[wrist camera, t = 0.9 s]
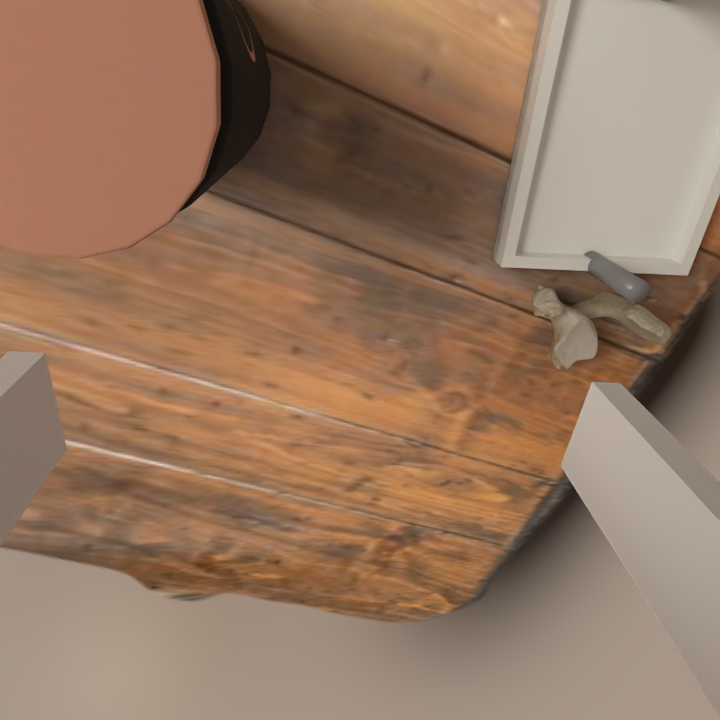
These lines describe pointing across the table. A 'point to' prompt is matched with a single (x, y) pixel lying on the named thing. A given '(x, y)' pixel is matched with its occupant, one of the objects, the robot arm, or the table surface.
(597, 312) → the bone
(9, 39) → the coffee jar
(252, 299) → the table surface
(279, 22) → the table surface
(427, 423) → the table surface
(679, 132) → the tray
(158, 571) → the table surface
